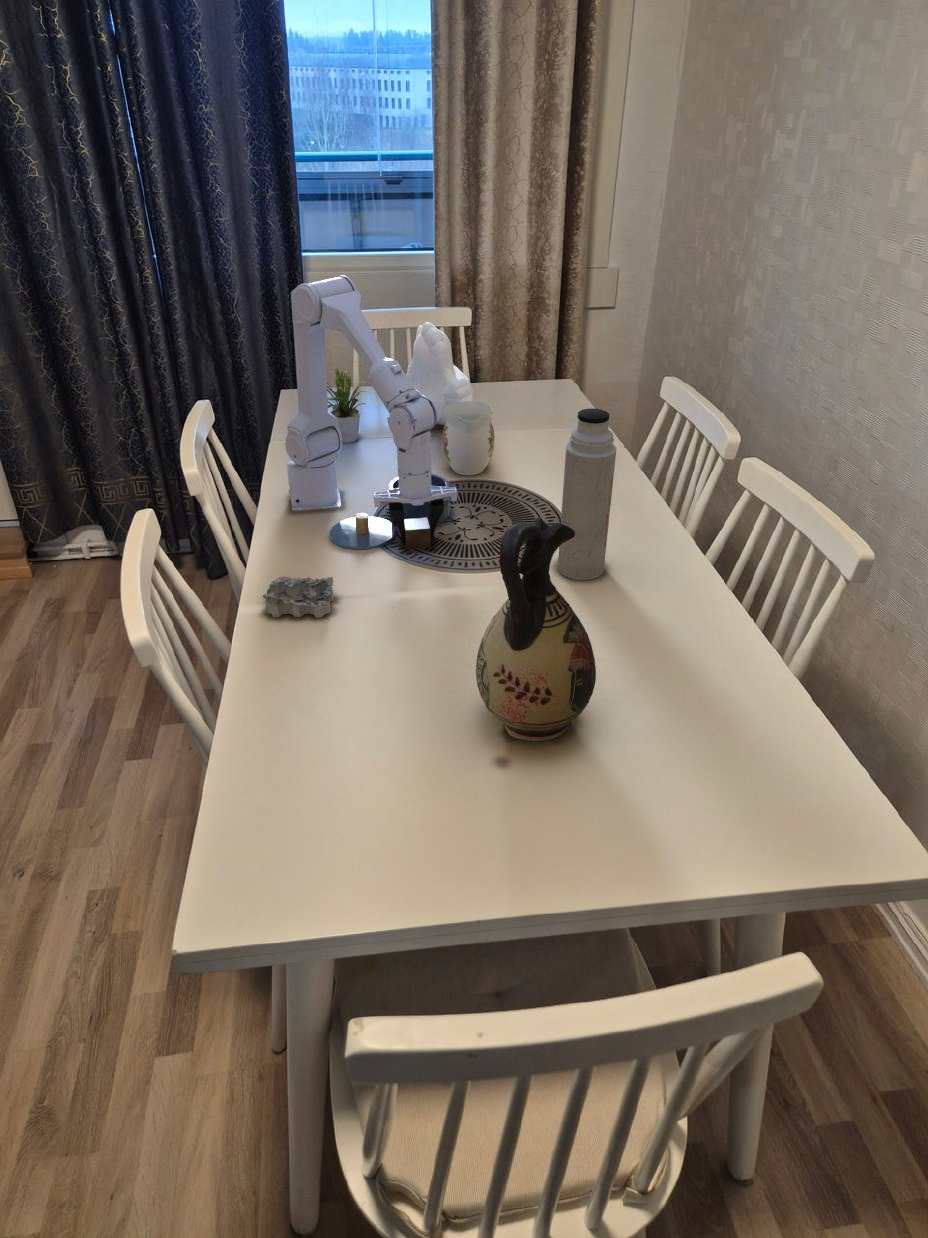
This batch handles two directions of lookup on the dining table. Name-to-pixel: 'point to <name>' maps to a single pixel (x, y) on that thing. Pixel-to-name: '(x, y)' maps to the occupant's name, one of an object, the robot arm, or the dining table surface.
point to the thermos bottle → (587, 495)
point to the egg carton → (309, 594)
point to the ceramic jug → (534, 642)
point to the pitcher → (468, 436)
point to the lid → (362, 532)
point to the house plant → (345, 406)
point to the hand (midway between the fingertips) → (416, 538)
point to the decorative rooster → (437, 371)
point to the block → (417, 533)
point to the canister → (422, 510)
